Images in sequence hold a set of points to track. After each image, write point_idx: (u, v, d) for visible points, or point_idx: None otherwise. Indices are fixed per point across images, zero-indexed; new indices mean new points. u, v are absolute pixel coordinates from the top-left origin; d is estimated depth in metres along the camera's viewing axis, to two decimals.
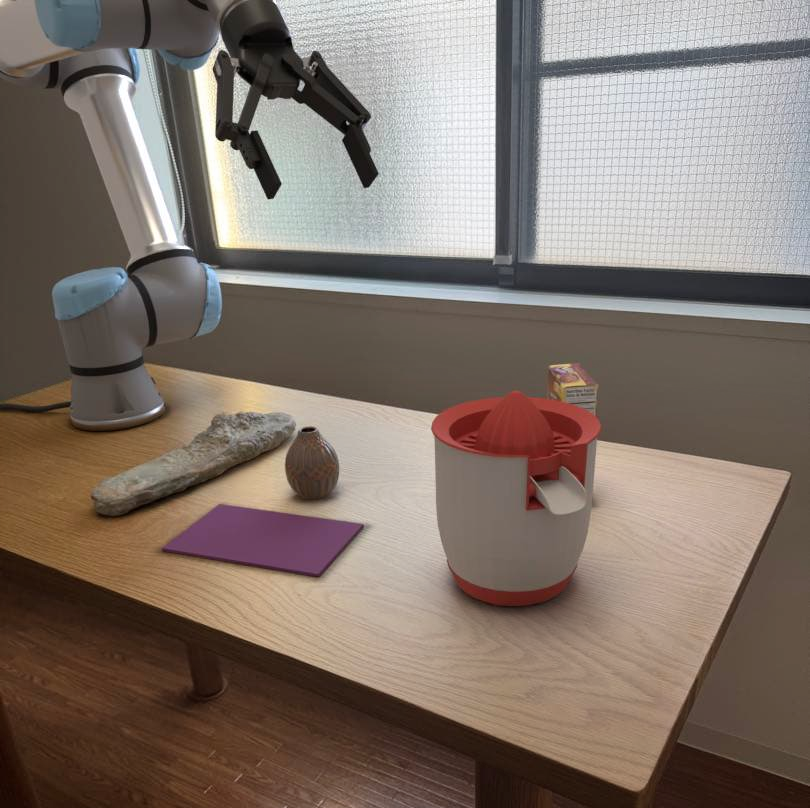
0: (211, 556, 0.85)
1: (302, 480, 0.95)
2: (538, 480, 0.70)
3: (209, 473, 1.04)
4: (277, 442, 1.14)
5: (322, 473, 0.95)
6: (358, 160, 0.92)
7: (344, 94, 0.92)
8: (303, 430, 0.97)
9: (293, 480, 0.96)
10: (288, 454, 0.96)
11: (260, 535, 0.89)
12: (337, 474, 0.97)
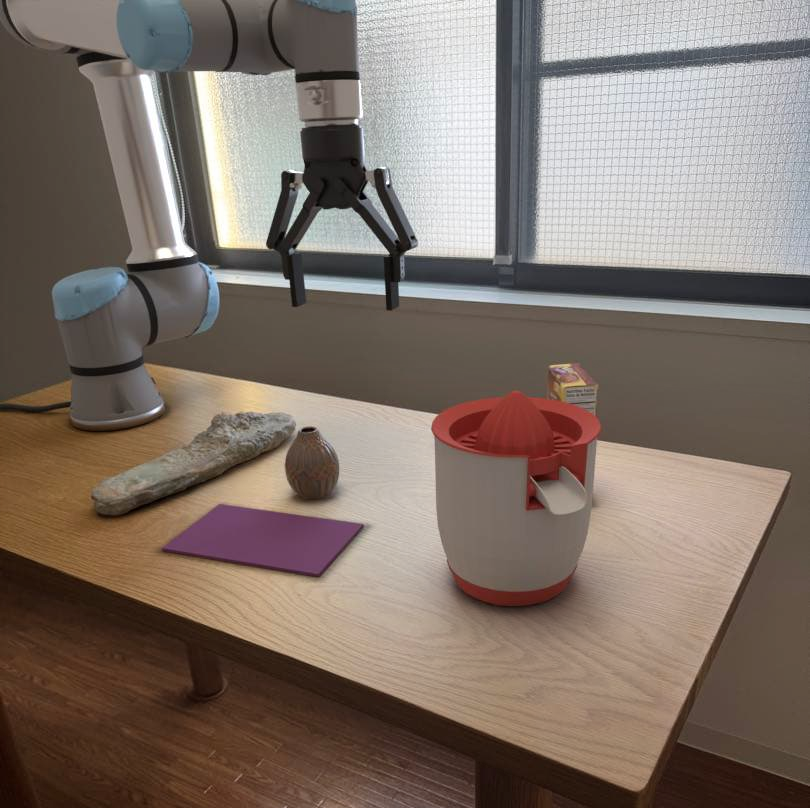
0: (211, 556, 0.85)
1: (302, 480, 0.95)
2: (538, 480, 0.70)
3: (209, 473, 1.04)
4: (277, 442, 1.14)
5: (322, 473, 0.95)
6: None
7: (391, 220, 0.93)
8: (303, 430, 0.97)
9: (293, 480, 0.96)
10: (288, 454, 0.96)
11: (260, 535, 0.89)
12: (337, 474, 0.97)
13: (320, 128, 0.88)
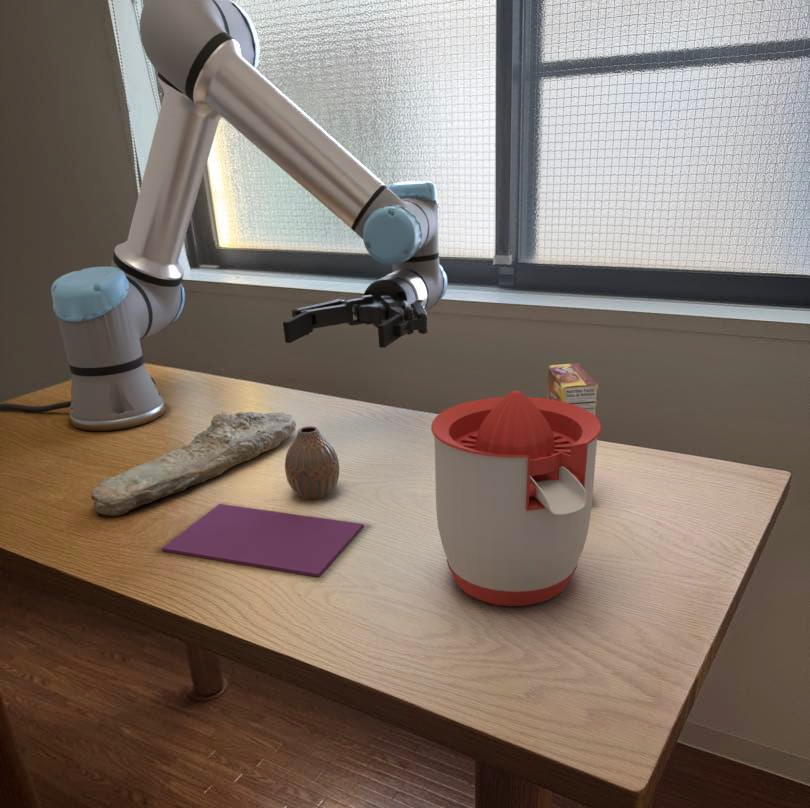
0: (211, 556, 0.85)
1: (302, 480, 0.95)
2: (538, 480, 0.70)
3: (209, 473, 1.04)
4: (277, 442, 1.14)
5: (322, 473, 0.95)
6: (299, 326, 1.03)
7: None
8: (303, 430, 0.97)
9: (293, 480, 0.96)
10: (288, 454, 0.96)
11: (260, 535, 0.89)
12: (337, 474, 0.97)
13: None
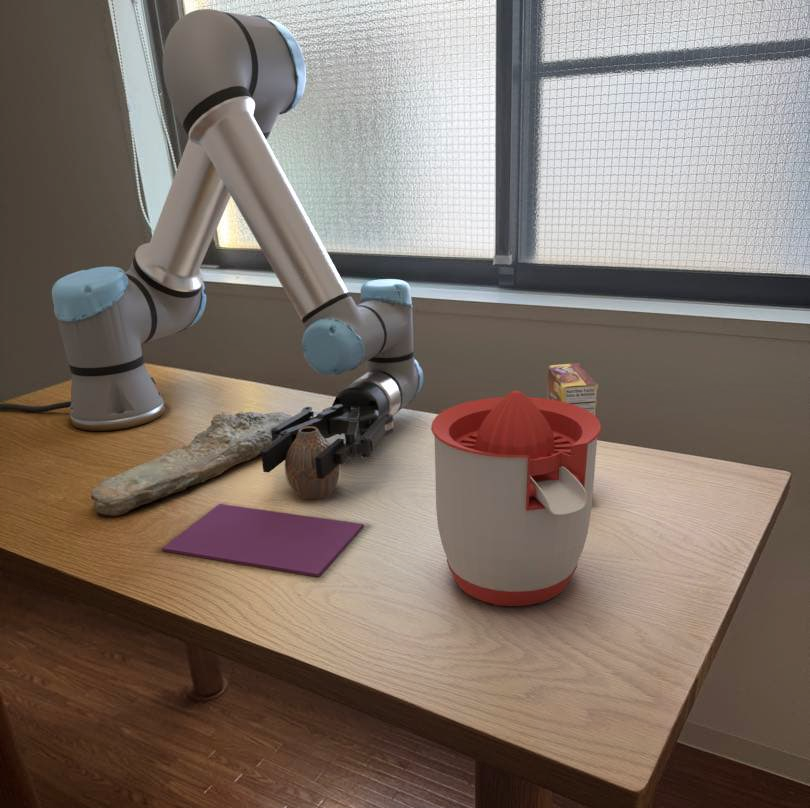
0: (211, 556, 0.85)
1: (302, 480, 0.95)
2: (538, 480, 0.70)
3: (209, 473, 1.04)
4: None
5: None
6: (278, 452, 0.96)
7: None
8: (303, 430, 0.97)
9: (293, 480, 0.96)
10: (288, 454, 0.96)
11: (260, 535, 0.89)
12: (337, 474, 0.97)
13: None
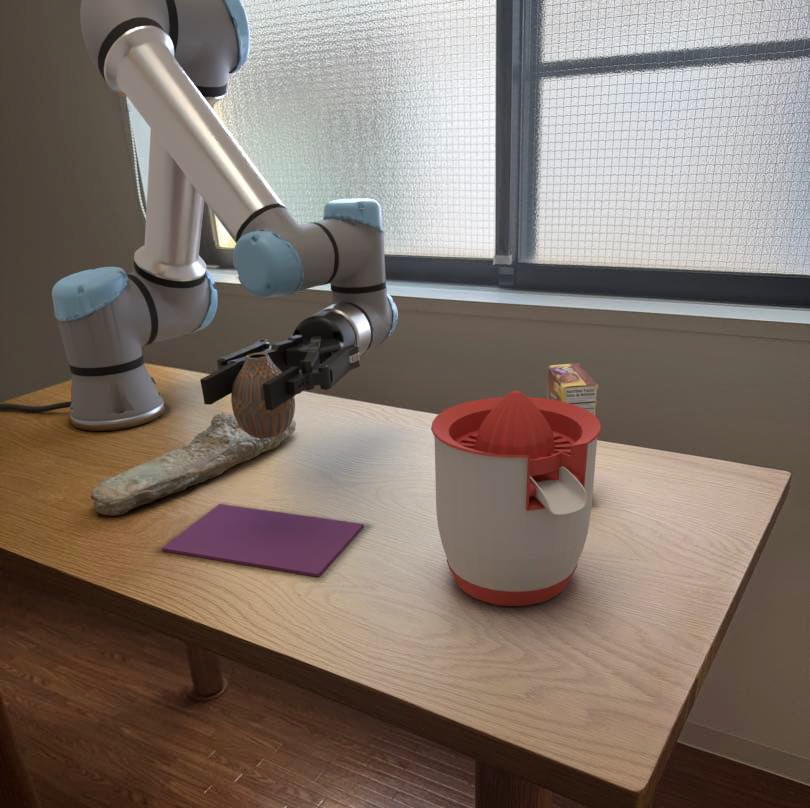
0: (211, 556, 0.85)
1: (250, 414, 0.82)
2: (538, 480, 0.70)
3: (209, 473, 1.04)
4: (277, 442, 1.14)
5: None
6: (223, 383, 0.83)
7: None
8: (252, 357, 0.83)
9: (240, 415, 0.83)
10: (234, 384, 0.82)
11: (260, 535, 0.89)
12: (292, 409, 0.84)
13: None
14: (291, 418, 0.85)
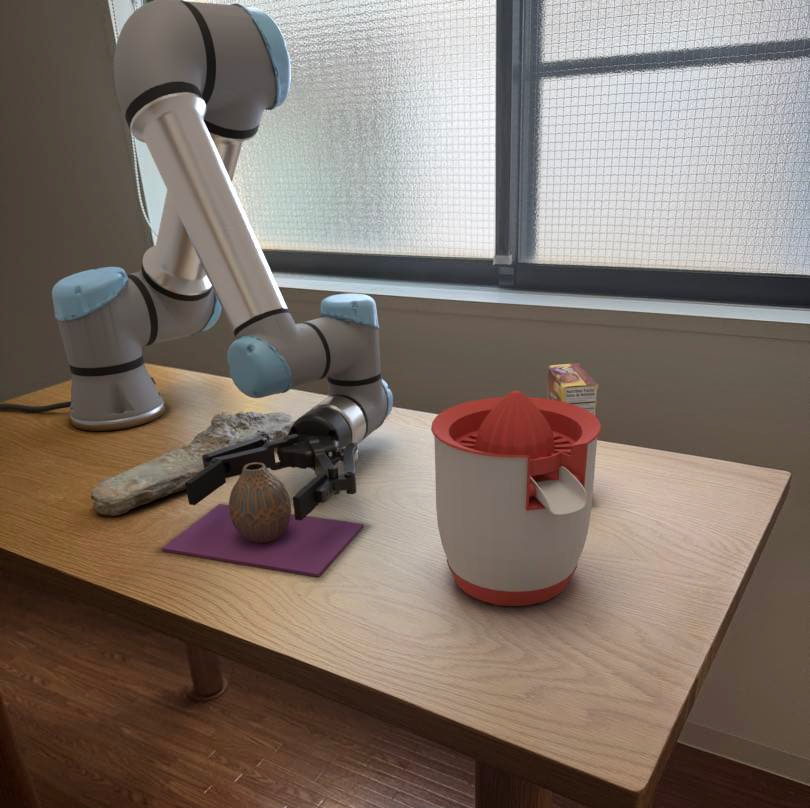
0: (211, 556, 0.85)
1: (247, 523, 0.84)
2: (538, 480, 0.70)
3: None
4: None
5: (269, 516, 0.84)
6: (207, 483, 0.88)
7: None
8: (249, 466, 0.86)
9: (237, 523, 0.85)
10: (232, 494, 0.85)
11: None
12: (288, 516, 0.87)
13: None
14: (287, 524, 0.87)
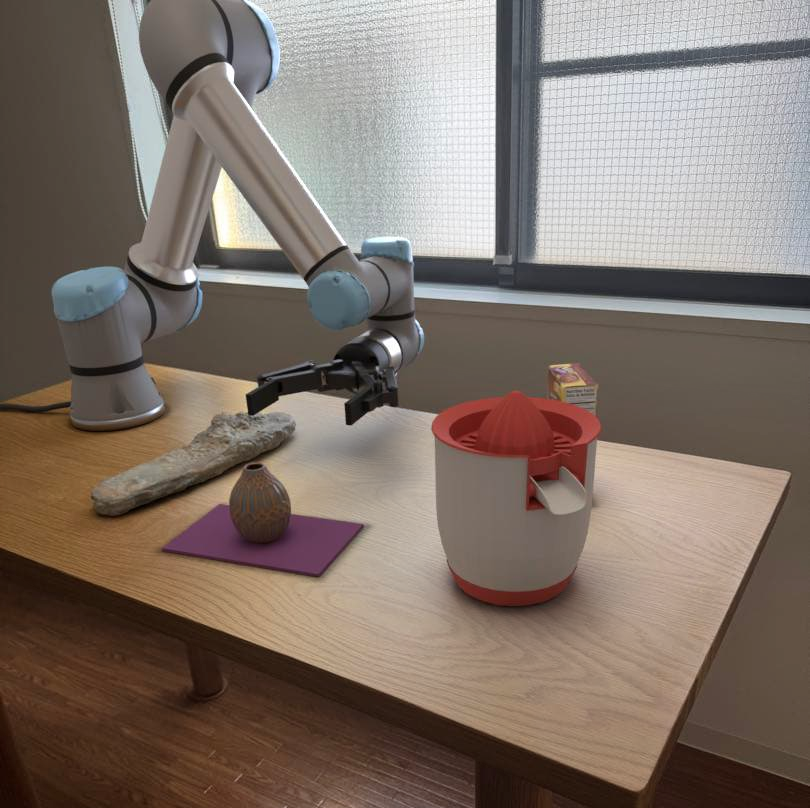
0: (211, 556, 0.85)
1: (247, 523, 0.84)
2: (538, 480, 0.70)
3: (209, 473, 1.04)
4: (277, 442, 1.14)
5: (269, 516, 0.84)
6: (263, 397, 0.98)
7: None
8: (249, 466, 0.86)
9: (237, 523, 0.85)
10: (232, 494, 0.85)
11: None
12: (288, 516, 0.87)
13: None
14: (287, 524, 0.87)
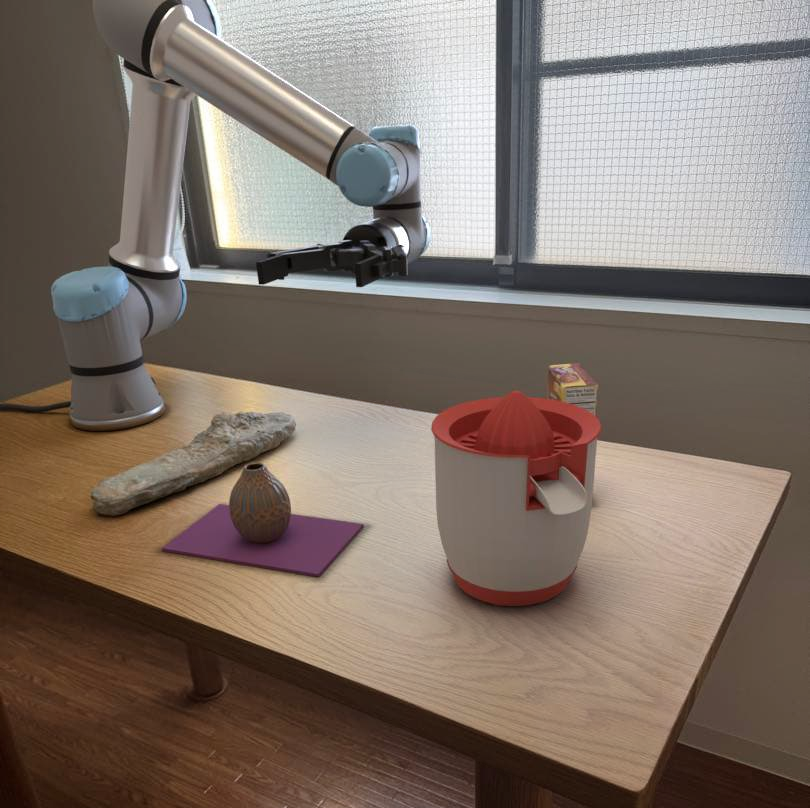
0: (211, 556, 0.85)
1: (247, 523, 0.84)
2: (538, 480, 0.70)
3: (209, 473, 1.04)
4: (277, 442, 1.14)
5: (269, 516, 0.84)
6: (273, 268, 0.99)
7: None
8: (249, 466, 0.86)
9: (237, 523, 0.85)
10: (232, 494, 0.85)
11: None
12: (288, 516, 0.87)
13: None
14: (287, 524, 0.87)
